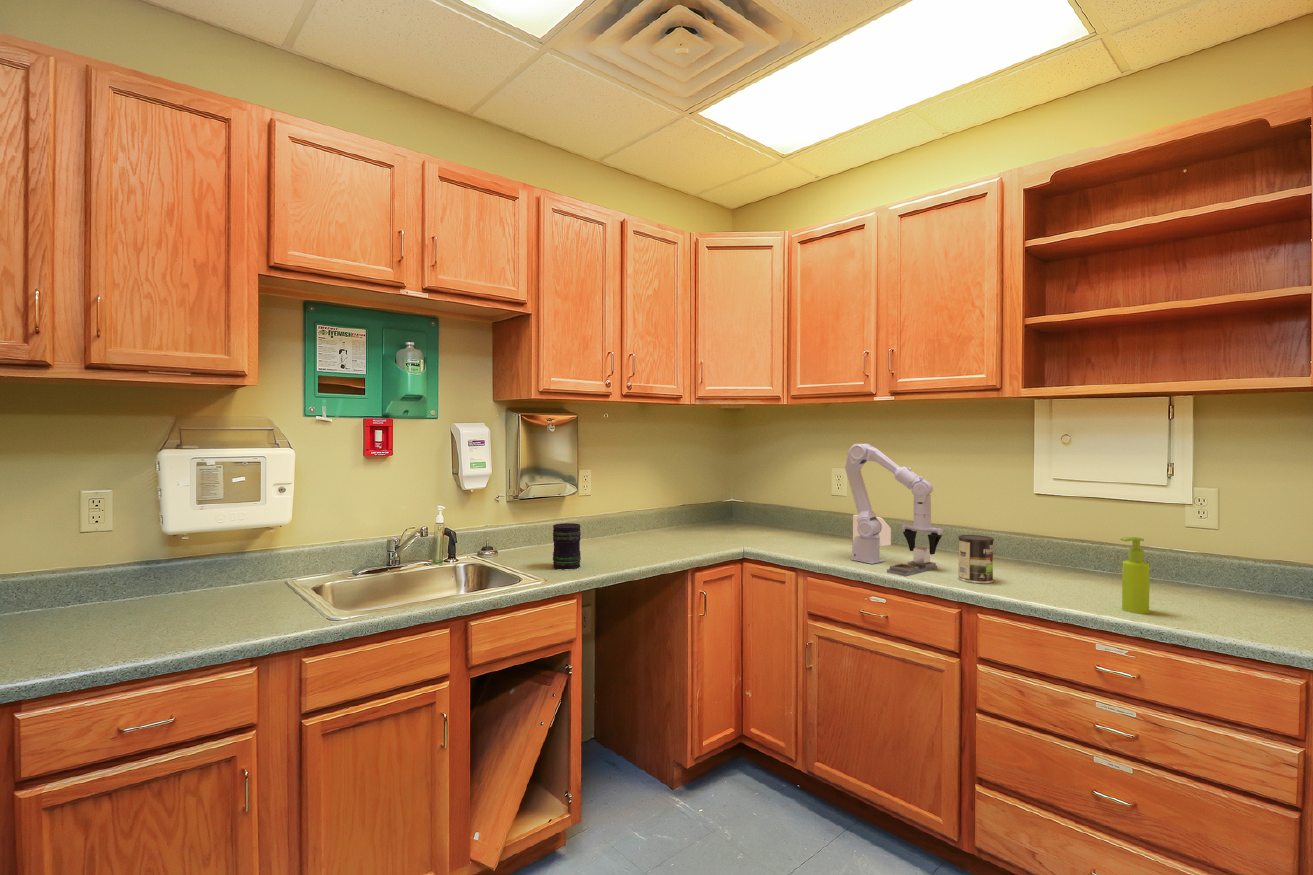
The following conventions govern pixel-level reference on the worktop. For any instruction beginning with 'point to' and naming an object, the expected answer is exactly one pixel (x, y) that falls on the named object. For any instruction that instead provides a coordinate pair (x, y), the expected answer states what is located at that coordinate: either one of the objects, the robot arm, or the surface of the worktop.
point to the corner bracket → (884, 534)
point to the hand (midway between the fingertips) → (922, 552)
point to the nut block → (921, 555)
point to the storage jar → (566, 546)
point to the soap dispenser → (1135, 579)
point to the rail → (911, 568)
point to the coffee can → (976, 559)
